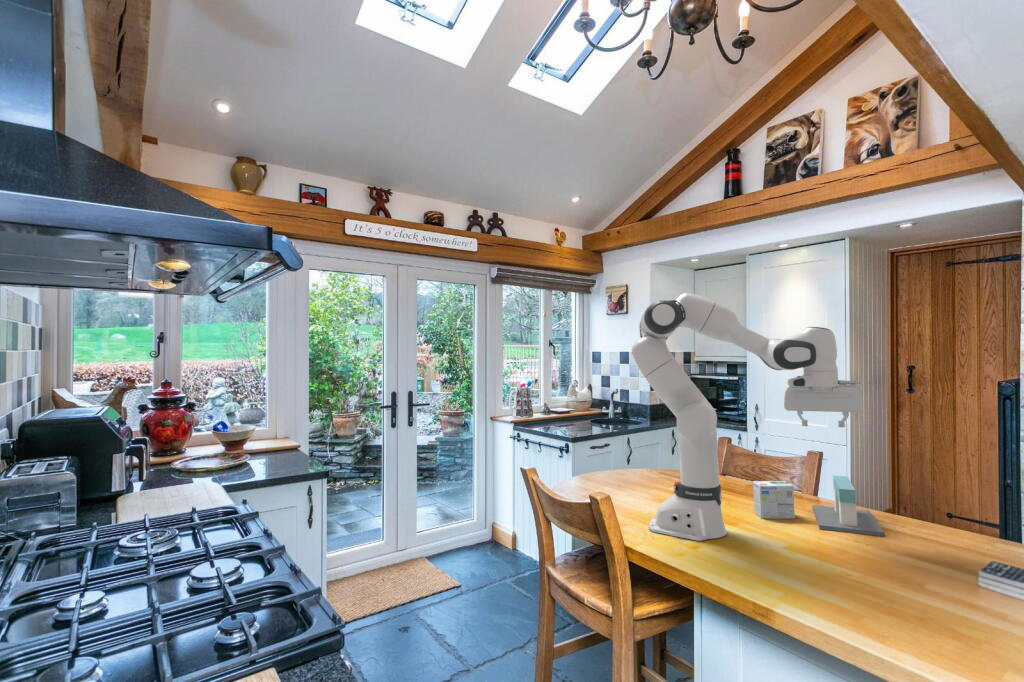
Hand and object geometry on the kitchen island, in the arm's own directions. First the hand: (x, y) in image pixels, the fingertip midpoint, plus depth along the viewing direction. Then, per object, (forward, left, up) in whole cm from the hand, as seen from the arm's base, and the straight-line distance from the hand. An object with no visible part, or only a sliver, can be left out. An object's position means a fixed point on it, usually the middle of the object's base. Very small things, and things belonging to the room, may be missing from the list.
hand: (822, 426), depth 150 cm
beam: (+6, +12, -23) cm, 26 cm away
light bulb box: (-14, +10, -31) cm, 36 cm away
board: (+6, +12, -31) cm, 34 cm away
